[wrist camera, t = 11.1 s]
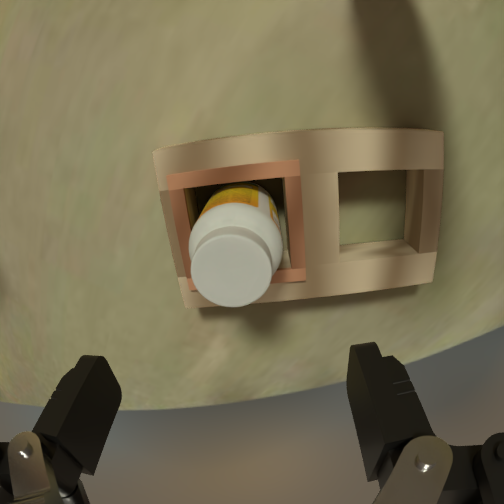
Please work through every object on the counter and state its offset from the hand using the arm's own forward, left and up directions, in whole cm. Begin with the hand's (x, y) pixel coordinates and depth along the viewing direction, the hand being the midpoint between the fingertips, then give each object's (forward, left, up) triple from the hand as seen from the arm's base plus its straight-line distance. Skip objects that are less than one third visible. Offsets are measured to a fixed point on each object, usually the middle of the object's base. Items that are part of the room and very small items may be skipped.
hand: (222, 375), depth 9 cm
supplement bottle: (0, 0, -16) cm, 16 cm away
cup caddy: (-5, 0, -16) cm, 17 cm away
